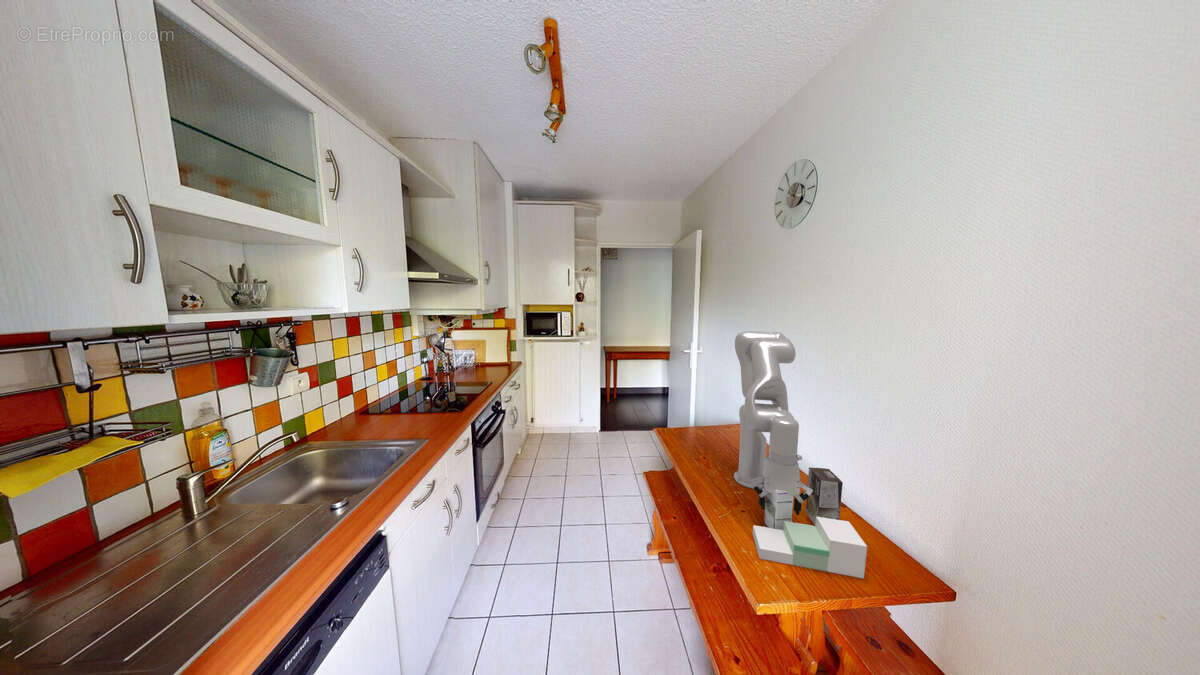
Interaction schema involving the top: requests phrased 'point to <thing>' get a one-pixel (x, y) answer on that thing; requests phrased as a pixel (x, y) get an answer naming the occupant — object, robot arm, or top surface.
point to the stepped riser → (814, 546)
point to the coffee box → (823, 494)
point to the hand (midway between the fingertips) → (779, 509)
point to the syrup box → (778, 509)
